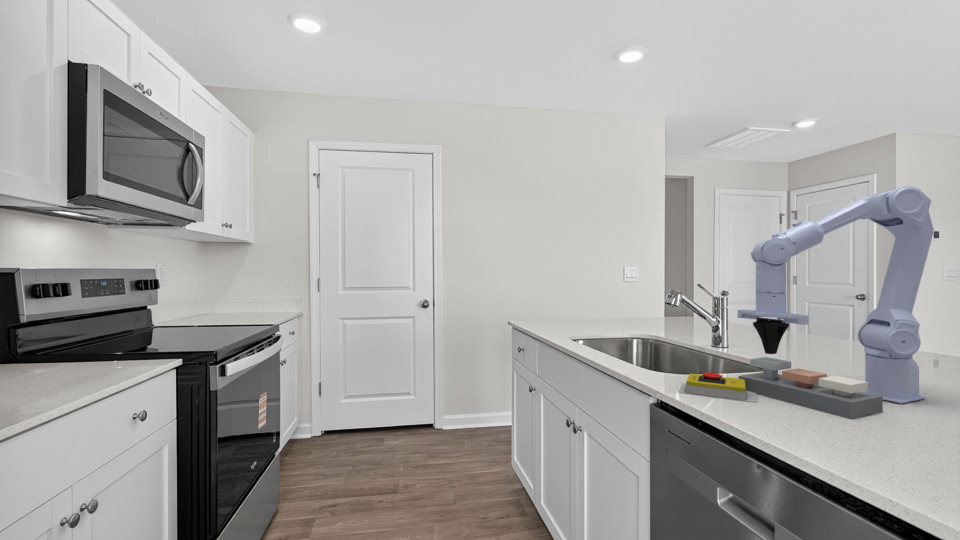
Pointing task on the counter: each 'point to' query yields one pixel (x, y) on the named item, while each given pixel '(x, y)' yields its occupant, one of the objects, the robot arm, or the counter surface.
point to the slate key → (770, 366)
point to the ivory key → (843, 385)
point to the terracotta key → (803, 376)
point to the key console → (815, 396)
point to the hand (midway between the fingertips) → (770, 353)
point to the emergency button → (717, 387)
